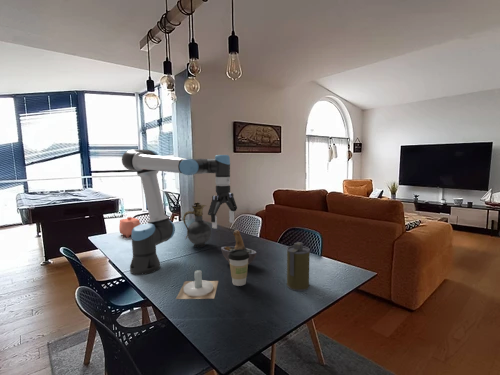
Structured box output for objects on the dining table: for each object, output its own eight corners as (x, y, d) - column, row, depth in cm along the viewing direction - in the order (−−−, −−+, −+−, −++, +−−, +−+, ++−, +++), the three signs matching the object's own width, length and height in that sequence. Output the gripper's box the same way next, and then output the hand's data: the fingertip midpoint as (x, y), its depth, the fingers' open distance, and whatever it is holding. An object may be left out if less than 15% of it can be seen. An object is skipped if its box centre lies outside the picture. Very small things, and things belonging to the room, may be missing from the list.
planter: (220, 262, 150) (219, 227, 148) (248, 258, 156) (247, 224, 154) (227, 272, 136) (227, 234, 134) (257, 267, 142) (257, 231, 140)
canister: (293, 278, 129) (294, 238, 127) (313, 284, 122) (314, 242, 120) (281, 286, 121) (281, 244, 118) (302, 294, 114) (302, 249, 112)
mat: (175, 299, 110) (175, 298, 110) (184, 282, 126) (184, 281, 126) (214, 299, 110) (214, 298, 110) (218, 281, 126) (218, 280, 126)
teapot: (116, 233, 209) (115, 216, 208) (132, 230, 218) (131, 213, 217) (127, 239, 194) (126, 220, 193) (144, 235, 203) (143, 217, 202)
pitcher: (213, 245, 180) (212, 201, 177) (188, 251, 168) (186, 205, 164) (205, 241, 188) (204, 199, 185) (180, 247, 176) (178, 202, 172)
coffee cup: (247, 289, 119) (246, 257, 117) (226, 287, 120) (225, 255, 119) (251, 279, 128) (251, 249, 126) (231, 277, 130) (231, 248, 128)
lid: (180, 297, 112) (179, 278, 111) (187, 282, 125) (186, 265, 124) (211, 296, 112) (210, 278, 111) (214, 282, 125) (214, 265, 124)
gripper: (211, 187, 123) (212, 232, 126) (243, 183, 144) (243, 221, 146) (200, 186, 128) (201, 229, 130) (232, 182, 148) (233, 219, 150)
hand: (223, 225), depth 138 cm, fingers open, 13 cm apart
